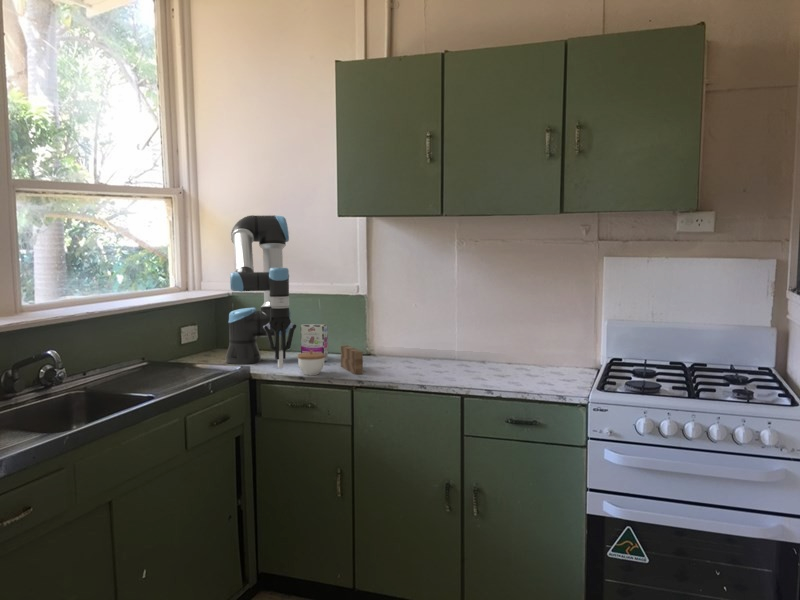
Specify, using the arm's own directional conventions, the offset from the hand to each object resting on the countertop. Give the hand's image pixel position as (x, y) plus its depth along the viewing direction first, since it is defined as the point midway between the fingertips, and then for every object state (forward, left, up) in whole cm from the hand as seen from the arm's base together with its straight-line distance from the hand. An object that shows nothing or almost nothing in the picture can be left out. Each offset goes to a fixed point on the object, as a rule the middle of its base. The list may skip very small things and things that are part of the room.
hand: (280, 367), depth 254 cm
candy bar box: (-27, +22, -4) cm, 35 cm away
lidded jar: (0, +13, -4) cm, 13 cm away
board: (0, +30, -4) cm, 30 cm away
